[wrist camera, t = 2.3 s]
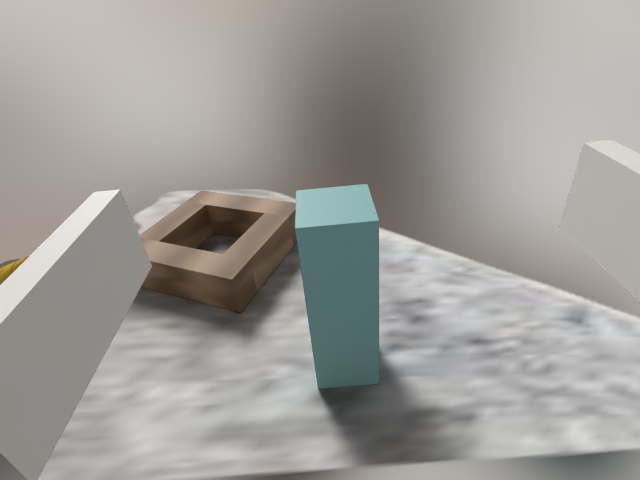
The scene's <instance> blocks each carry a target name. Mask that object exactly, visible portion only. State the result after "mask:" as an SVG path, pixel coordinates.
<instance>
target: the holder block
mask: <svg viewBox="0 0 640 480" xmlns="http://www.w3.org/2000/svg"><path fill="white" fill-rule="evenodd" d="M295 216H296V203H292V202H284V201H277V200H269V199H261V198H254V197H246V196H238V195H231V194H223V193H215V192H208V191H200V192H199V193H197V194H196V195H194V196H193V197H192V198H190V199H189V200H187V201H186V202H185V203H183V204H182V205H181V206H179V207H178V208H176V209H175V210H174V211H172V212H171V213H170V214H168V215H167V216H165V217H164V218H163V219H161V220H160V221H159V222H157V223H156V224H154V225H153V226H152V227H150V228H149V229H147V230H146V231H145V232H143V233H142V234H141V235H139V236H140V238H141V240H142V243H143V245H144V248H145V250H146V253H147V255H148V257H149V260H150V262H151V265H152V267H151V269H150V271H149V273H148V275H147V277H146V278H145V280H144V282H143V284H142V286H141V287H143V288H147V289H151V290H155V291H159V292H163V293H166V294H170V295H174V296H178V297H182V298H186V299H189V300H193V301H197V302H201V303H205V304H209V305H212V306H216V307H220V308H224V309H228V310H232V311H235V312H239V313H241V312H242V311H243V310H244V308H245V307H246V306H247V305H248V303H249V302H250V301H251V300H252V298H253V297H254V296H255V295H256V293H257V292H258V291H259V290H260V288H261V287H262V286H263V285H264V283H265V282H266V281H267V279H268V278H269V277H270V276H271V274H272V273H273V272H274V271H275V269H276V268H277V267H278V266H279V264H280V263H281V262H282V261H283V259H284V258H285V257H286V255H287V254H288V253H289V252H290V250H291V249H292V248H293V247H294V245H295V244H296V243H297V238H296V231H295ZM213 233H217V234H222V235H228V236H234V237H239V239H238V240H237V241H236V242H235V243H234V244H233V245H232V246H231V247H230V248H229V249H228V250H227V251H226V252H225V253H224V254H219V253H214V252H209V251H204V250H199V249H197V248H198V247H199V246H200V245H201V244H202V243H203V242H204V241H205V240H207V239H208V238H209V237H210V236H211V235H212V234H213Z"/></svg>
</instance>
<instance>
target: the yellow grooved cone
mask: <svg viewBox="0 0 640 480" xmlns="http://www.w3.org/2000/svg"><path fill="white" fill-rule="evenodd" d="M28 257H29V256H28ZM28 257H25V258H23V259H16V260H10V261H7V262H4V263H2V264H0V285H1V284H2V283H3V282H4V281H5V280H6V279H7V278H8V277H9V276H10V275H11V274H12V273H13V272H14V271H15V270H16V269H17V268H18V267H19V266H20V265H21V264H22V263H23V262H24V261H25V260H26V259H27V258H28Z"/></svg>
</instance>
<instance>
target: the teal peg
mask: <svg viewBox="0 0 640 480" xmlns="http://www.w3.org/2000/svg"><path fill="white" fill-rule="evenodd" d="M295 231H296V238H297V245H298V252H299V259H300V266H301V273H302V280H303V287H304V294H305V301H306V308H307V315H308V322H309V329H310V336H311V343H312V350H313V357H314V364H315V371H316V378H317V384H318V389H324V388H335V387H347V386H359V385H371V384H379V219H378V216H377V213H376V210H375V207H374V204H373V201H372V197H371V195H370V191H369V188H368V185H367V184H363V185H351V186H342V187H330V188H319V189H309V190H298V191H296V216H295Z"/></svg>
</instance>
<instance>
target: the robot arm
mask: <svg viewBox="0 0 640 480" xmlns="http://www.w3.org/2000/svg"><path fill="white" fill-rule="evenodd" d="M559 227H560V228H561V229H562V230H563V231H565V232H566V233H567V234H568V235H569V236H570V237H571V238H572V239H573V240H574V241H575V242H576V243H577V244H578V245H579V246H580V247H582V248H583V249H584V250H585V251H586V252H587V253H588V254H589V255H590V256H591V257H592V258H593V259H594V260H595V261H596V262H597V263H598V264H600V265H601V266H602V267H603V268H604V269H605V270H606V271H607V272H608V273H609V274H610V275H611V276H612V277H613V278H614V279H615V280H616V281H618V282H619V283H620V284H621V285H622V286H623V287H624V288H625V289H626V290H627V291H628V292H629V293H630V294H631V295H632V296H633V297H635V298H636V299H637V300H638V301H639V302H640V154H638V153H636V152H634V151H632V150H630V149H628V148H626V147H624V146H622V145H621V144H618V143H616V142H615V141H613V140H605V141H595V142H585V143H583V146H582V150H581V153H580V157H579V160H578V164H577V167H576V171H575V175H574V178H573V181H572V184H571V188H570V192H569V195H568V198H567V202H566V205H565V209H564V212H563V216H562V220H561V223H560V226H559ZM151 267H152V265H151V262H150V260H149V257H148V255H147V253H146V250H145V248H144V245H143V243H142V240H141V238H140V236H139V233H138V231H137V229H136V226H135V224H134V221H133V219H132V216H131V214H130V212H129V209H128V207H127V204H126V202H125V199H124V197H123V195H122V192H121V190H111V191H101V192H94V193H93V194H92V195H91V196H90V197H89V198H88V199H87V200H86V201H85V202H84V203H83V204H82V205H81V206H80V207H79V208H78V209H77V210H76V211H75V212H74V213H73V214H72V215H71V216H70V217H69V218H67V219H66V220H65V222H63V223H62V224H61V225H60V226H59V228H57V229H56V230H55V231H54V232H53V233H52V234H51V235H50V236H49V238H47V239H46V241H44V242H43V243H42V244H41V245H40V246H39V247H38V248H37V249H36V250H35V251H34V252H33V253H32V254H31V255H30V256H29V257H28V258H27V259H26V260H25V261H24V262H23V263H22V264H21V265H20V266H19V267H18V268H17V269H16V270H15V271H14V272H13V273H12V274H11V275H10V276H9V277H8V278H7V279H6V280H5V281H4V282H3V283H2V284H1V285H0V480H37V479H38V478H39V476H40V474H41V472H42V470H43V468H44V466H45V465H46V463H47V461H48V459H49V457H50V455H51V453H52V451H53V450H54V448H55V446H56V444H57V442H58V440H59V438H60V437H61V435H62V433H63V431H64V429H65V427H66V425H67V424H68V422H69V420H70V418H71V416H72V414H73V412H74V411H75V409H76V407H77V405H78V403H79V401H80V399H81V398H82V396H83V394H84V392H85V390H86V388H87V386H88V384H89V383H90V381H91V379H92V377H93V375H94V373H95V371H96V370H97V368H98V366H99V364H100V362H101V360H102V358H103V357H104V355H105V353H106V351H107V349H108V347H109V345H110V344H111V342H112V340H113V338H114V336H115V334H116V332H117V330H118V329H119V327H120V325H121V323H122V321H123V319H124V317H125V316H126V314H127V312H128V310H129V308H130V306H131V304H132V303H133V301H134V299H135V297H136V295H137V293H138V291H139V290H140V288H141V286H142V284H143V282H144V280H145V278H146V277H147V275H148V273H149V271H150V269H151Z"/></svg>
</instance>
